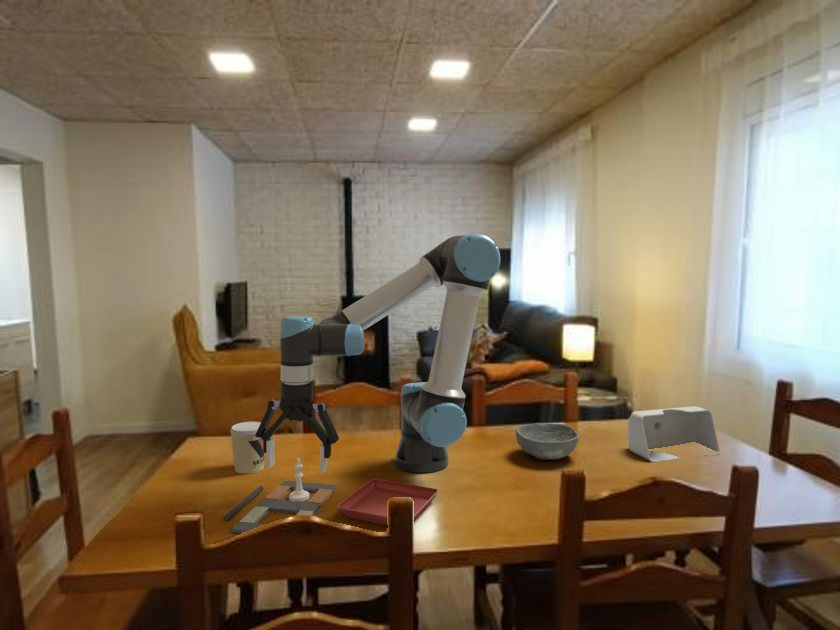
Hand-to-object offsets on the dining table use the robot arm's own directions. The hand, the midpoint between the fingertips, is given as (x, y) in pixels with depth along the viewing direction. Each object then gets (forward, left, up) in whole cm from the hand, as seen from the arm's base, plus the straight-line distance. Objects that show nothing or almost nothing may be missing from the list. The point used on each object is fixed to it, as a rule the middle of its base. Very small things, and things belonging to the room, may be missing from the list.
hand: (296, 468), depth 131 cm
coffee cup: (+21, -15, -8) cm, 27 cm away
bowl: (-60, -40, -8) cm, 73 cm away
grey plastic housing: (-97, -54, -8) cm, 111 cm away
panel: (0, +6, -7) cm, 9 cm away
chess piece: (0, 0, -8) cm, 8 cm away
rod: (+11, +6, -7) cm, 14 cm away
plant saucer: (-23, +2, -8) cm, 25 cm away
